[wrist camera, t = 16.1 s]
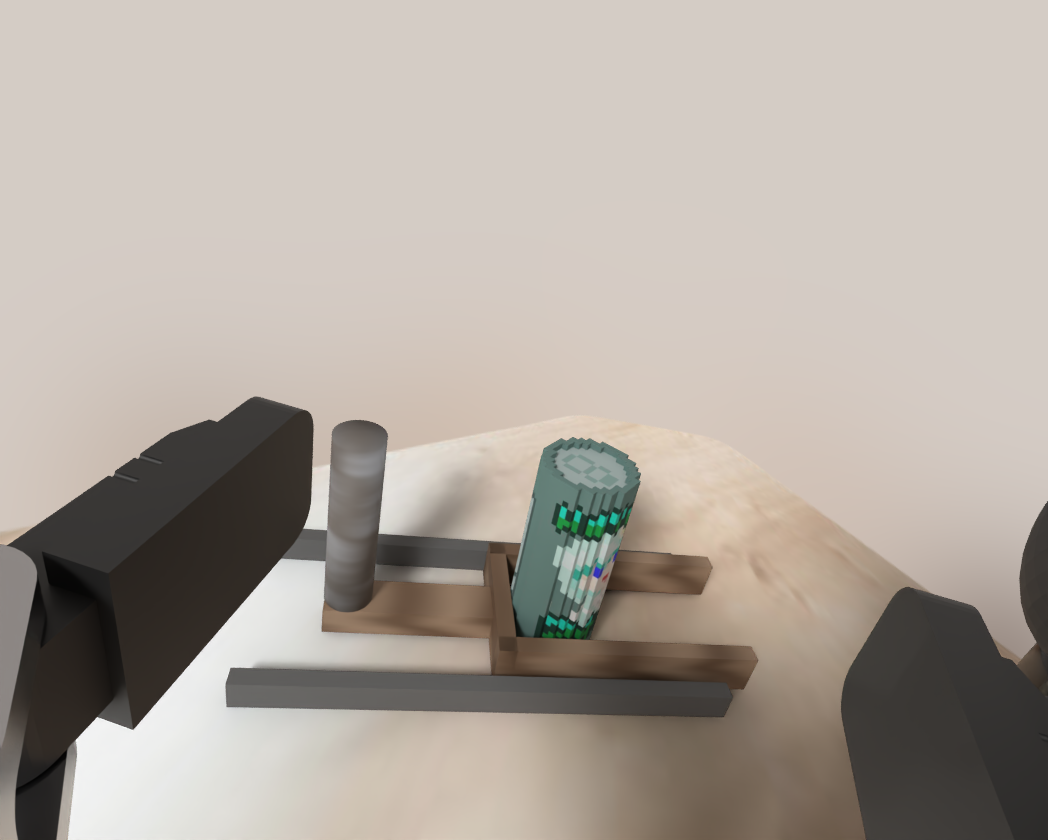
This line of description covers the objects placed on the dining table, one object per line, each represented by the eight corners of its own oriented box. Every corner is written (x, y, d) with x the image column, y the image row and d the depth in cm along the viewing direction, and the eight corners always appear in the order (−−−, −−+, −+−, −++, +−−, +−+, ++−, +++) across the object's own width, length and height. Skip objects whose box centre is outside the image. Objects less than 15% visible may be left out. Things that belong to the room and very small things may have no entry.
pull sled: (696, 584, 58) (758, 432, 50) (743, 689, 49) (827, 524, 41) (332, 562, 52) (342, 389, 45) (311, 677, 43) (319, 484, 36)
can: (555, 680, 47) (607, 507, 40) (487, 630, 50) (524, 459, 42) (601, 633, 52) (655, 469, 44) (536, 589, 54) (577, 428, 47)
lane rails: (664, 571, 59) (671, 553, 58) (723, 716, 47) (732, 697, 46) (274, 547, 53) (274, 527, 52) (226, 706, 41) (225, 684, 40)
